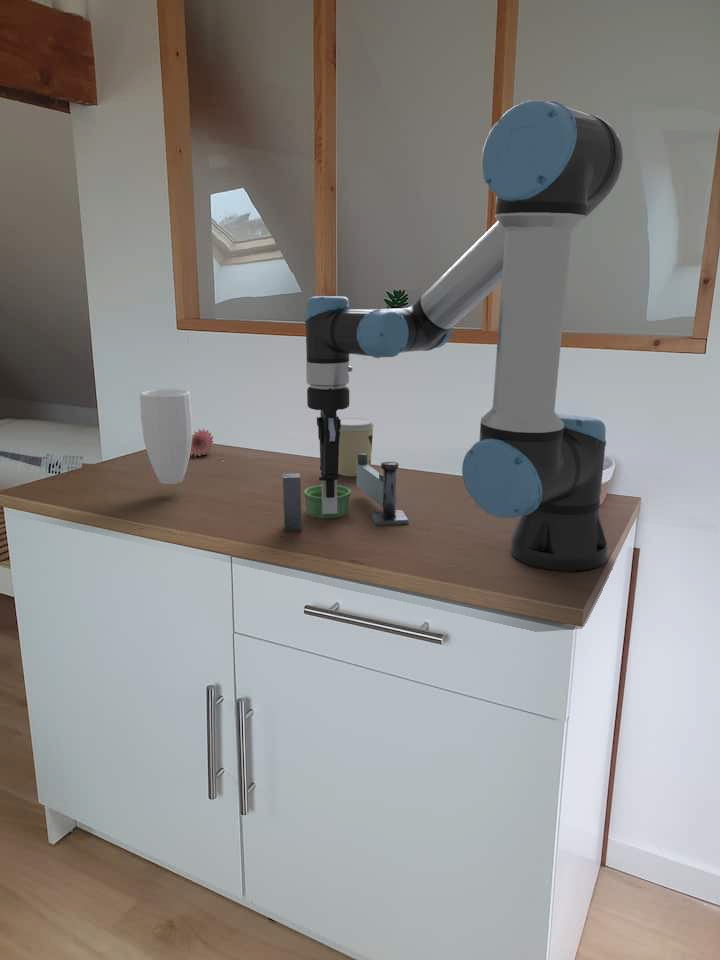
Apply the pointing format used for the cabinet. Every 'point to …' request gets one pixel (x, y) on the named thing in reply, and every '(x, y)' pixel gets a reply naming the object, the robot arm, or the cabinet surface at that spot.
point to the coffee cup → (354, 444)
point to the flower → (201, 443)
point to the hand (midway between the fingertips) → (329, 512)
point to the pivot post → (389, 498)
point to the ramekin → (315, 501)
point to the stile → (292, 502)
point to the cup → (167, 432)
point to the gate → (369, 479)
